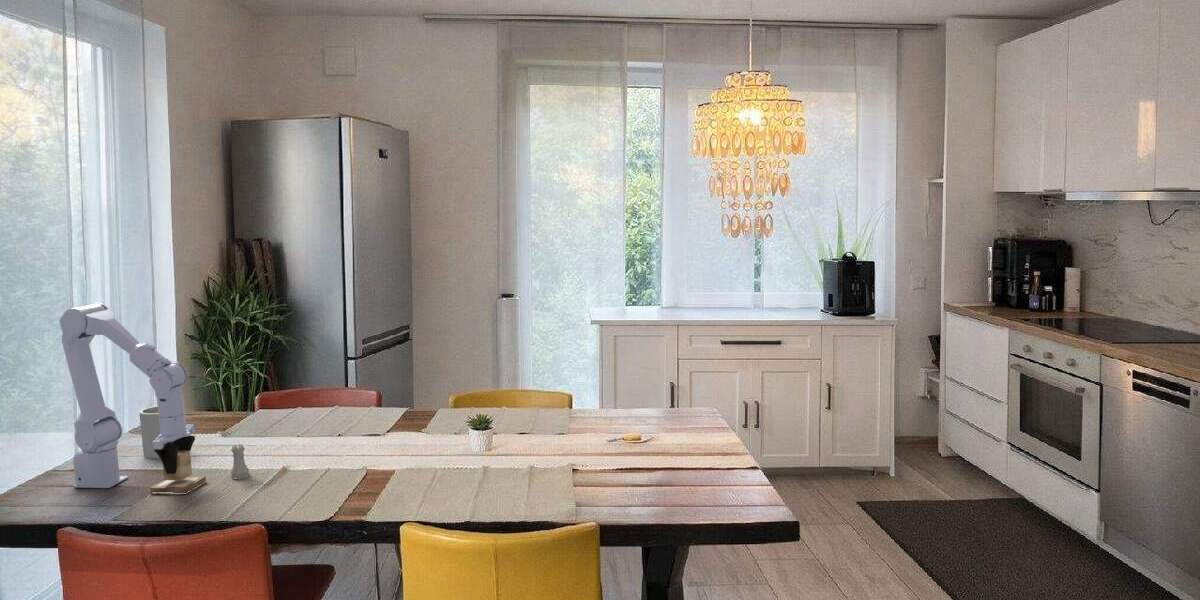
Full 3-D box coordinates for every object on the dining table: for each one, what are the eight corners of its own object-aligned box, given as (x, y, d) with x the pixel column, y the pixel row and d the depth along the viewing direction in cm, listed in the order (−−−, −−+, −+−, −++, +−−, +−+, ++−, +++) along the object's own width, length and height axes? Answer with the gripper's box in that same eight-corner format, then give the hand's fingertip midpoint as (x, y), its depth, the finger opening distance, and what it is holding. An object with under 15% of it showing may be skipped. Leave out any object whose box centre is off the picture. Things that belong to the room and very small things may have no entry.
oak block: (164, 480, 241) (162, 455, 240) (174, 474, 245) (172, 450, 244) (181, 480, 240) (179, 456, 239) (192, 474, 245) (190, 450, 244)
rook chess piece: (243, 480, 248) (241, 448, 247) (227, 479, 249) (224, 447, 247) (253, 474, 252) (250, 443, 251) (237, 473, 253) (234, 442, 252)
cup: (146, 450, 276) (141, 407, 274) (181, 446, 278) (177, 404, 277) (141, 459, 267) (137, 415, 265) (178, 455, 270) (174, 411, 268)
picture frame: (150, 493, 239) (150, 487, 239) (172, 481, 248) (171, 475, 248) (186, 494, 238) (185, 488, 238) (206, 482, 247) (205, 476, 247)
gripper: (170, 423, 233) (175, 480, 235) (203, 407, 247) (208, 460, 249) (142, 422, 234) (147, 479, 236) (177, 406, 248) (182, 460, 250)
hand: (177, 469), depth 243 cm, fingers closed on oak block, 4 cm apart
